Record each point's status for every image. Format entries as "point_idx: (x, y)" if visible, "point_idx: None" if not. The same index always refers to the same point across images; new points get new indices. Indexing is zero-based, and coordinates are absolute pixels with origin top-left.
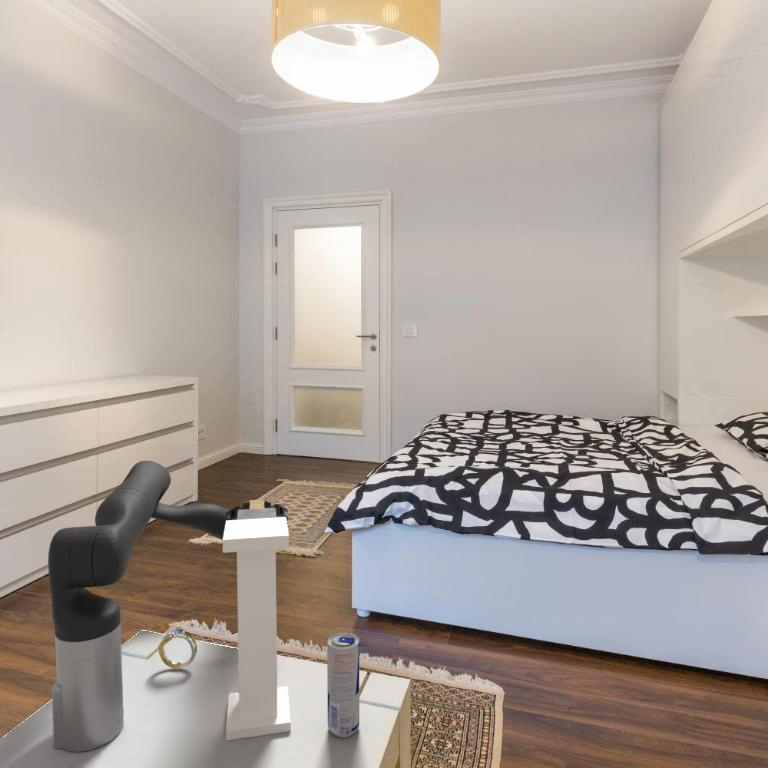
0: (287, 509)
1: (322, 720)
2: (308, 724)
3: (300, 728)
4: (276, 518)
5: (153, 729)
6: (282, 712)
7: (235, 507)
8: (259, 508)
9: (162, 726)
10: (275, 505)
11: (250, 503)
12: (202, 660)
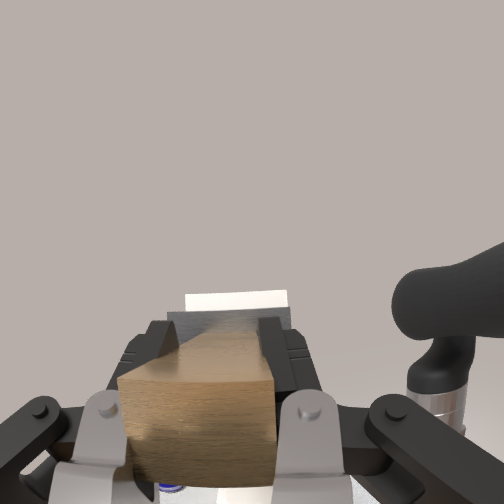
0: None
1: (184, 498)
2: (199, 497)
3: (209, 495)
4: (202, 294)
5: (365, 495)
6: (224, 497)
7: (398, 400)
8: (210, 341)
9: (358, 498)
10: (59, 405)
11: (258, 357)
12: None
